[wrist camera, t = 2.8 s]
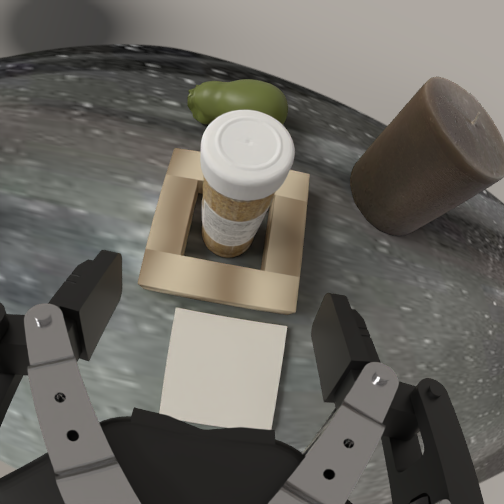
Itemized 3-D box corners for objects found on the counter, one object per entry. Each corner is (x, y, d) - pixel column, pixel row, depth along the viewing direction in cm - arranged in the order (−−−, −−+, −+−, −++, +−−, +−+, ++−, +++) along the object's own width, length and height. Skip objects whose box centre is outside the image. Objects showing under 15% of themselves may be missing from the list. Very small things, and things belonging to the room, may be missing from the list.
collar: (143, 288, 24) (137, 283, 22) (176, 162, 28) (174, 147, 25) (287, 314, 26) (295, 312, 23) (301, 187, 29) (309, 174, 27)
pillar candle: (337, 206, 29) (430, 113, 15) (362, 139, 32) (434, 49, 18) (414, 253, 29) (524, 199, 15) (428, 183, 32) (513, 118, 18)
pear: (281, 116, 24) (174, 98, 25) (278, 152, 29) (184, 133, 30) (295, 77, 26) (197, 63, 27) (290, 113, 31) (204, 97, 32)
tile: (160, 414, 22) (159, 415, 21) (176, 308, 24) (176, 307, 24) (269, 429, 23) (270, 431, 22) (285, 326, 25) (287, 326, 25)
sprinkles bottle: (223, 199, 28) (241, 93, 15) (264, 230, 27) (314, 141, 15) (189, 237, 26) (180, 144, 13) (232, 270, 26) (259, 203, 13)
